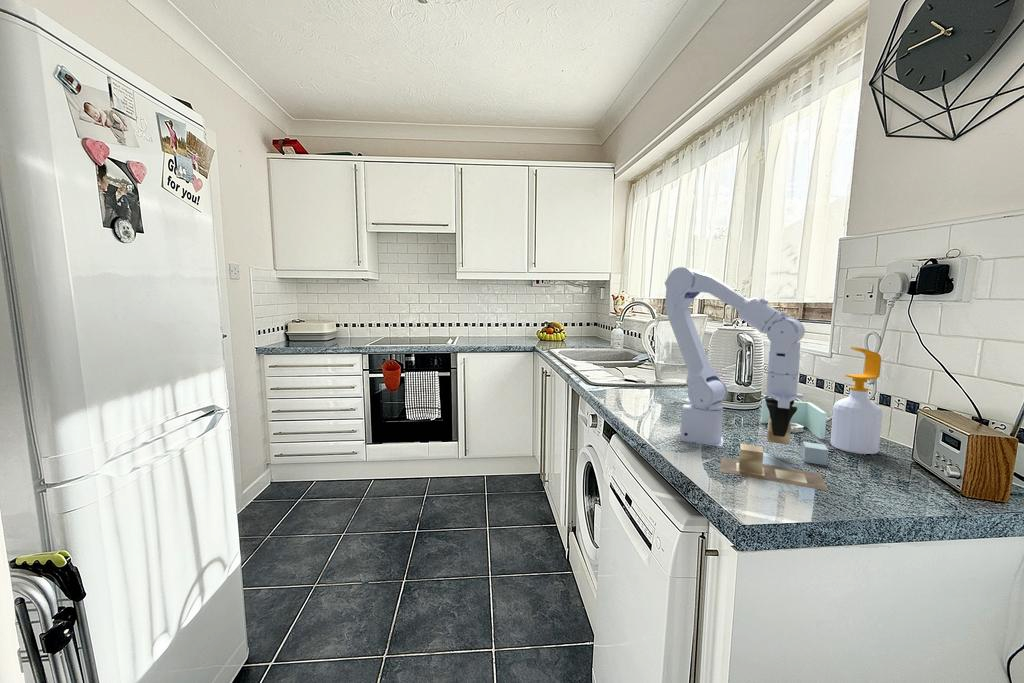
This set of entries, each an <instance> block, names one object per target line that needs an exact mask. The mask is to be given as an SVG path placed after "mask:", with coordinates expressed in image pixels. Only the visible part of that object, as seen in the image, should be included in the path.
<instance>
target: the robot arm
mask: <svg viewBox="0 0 1024 683" xmlns="http://www.w3.org/2000/svg"><path fill="white" fill-rule="evenodd" d="M664 285H665V288H666V291H665V292H666V293H665V300H664V309H665V312H666V315H667V318H668V321H669V324H670V326H671V329H672V331H673V334H674V337H675V340H676V342H677V344H678V348H679V350H680V353H681V355H682V359H683V361H684V363H685V367H686V369H687V372H688V373H687V377H686V382H685V383H686V384H687V397H688V400H689V402H690V404H683V405H682V410H681V420H680V426H679V427H680V430H679V431H680V439H679V440H680V441H682V442H691V443H696V444H702V445H709V446H717V447H723V445H724V444H723V443H724V437H723V436H722V432H723V418H724V416H723V415H724V414H723V413H724V404H723V401H724V400H725V399H726V398H727V396H728V386H727V385H726V383H725V382H724V381H722V379H721V378H720V376H719V374H718V372H717V371H716V370H715V369H714V368H713V367H712V366H711V365H710V362H709V359H708V356H707V354H706V351H705V348H704V346H703V343H702V341H701V338H700V335H699V333H698V330H697V328H696V325H695V322H694V320H693V317H692V314H691V313H690V309H689V308H690V306H691V304H692V302H693V301H694V299H696V297H698V296H699V295H700V294H701V293H707V294H709V295H711V296H713V297H715V298H716V299H718V300H720V301H722V302H723V303H725V304H726V305H728V306H730V307H731V308H733V309H735V310H737V312H738V317H739V318H740V319H741V320H742V321H744V322H745V323H747V324H748V325H750V326H751V327H753V329H755V330H758V331H759V332H760V333H762V334H763V335H765V334H766V338H767V339H768V340H769V341H770V344H769V346H770V347H769V352H768V364H767V365H768V366H767V375H766V376H767V377H766V388H765V391H764V395H766V397H764V399H765V401H766V405H767V407H768V409H769V413H770V418H771V423H772V431H773V435H774V436H781V437H784V436H785V434H786V432H787V429H788V425H789V422H790V420H791V418H792V416H793V415H794V414H795V412H796V411H797V407H793V406H792V405H793V404H794V401H795V400H796V399H803V398H804V394H803V393H798V382H799V371H800V359H801V353H800V349H801V340H802V339H803V338H804V336H805V332H806V331H805V330H806V329H805V327H804V325H803V324H802V322H801V321H799V320H798V318H796V317H787V316H788V313H787V312H786V311H779V310H778V309H776V308H775V307H773V306H771V305H769V304H768V302H769V300H767V299H765V298H758V297H752V298H747V297H745V296H744V295H743V294H741V293H740V292H738V291H737V290H735V289H733V288H732V287H731V286H729V285H728V284H726V283H725V282H723V281H722V280H720V279H718V278H716V276H713V275H712V274H709V273H707V272H704V271H703V270H702V269H699V268H698V269H697V268H687V267H683V266H678V267H676V268H674V269H673V270H671V271H670V273H669V274H668V277H667V278H666V279H665V282H664Z"/></svg>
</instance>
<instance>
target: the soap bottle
mask: <svg viewBox="0 0 1024 683" xmlns="http://www.w3.org/2000/svg"><path fill="white" fill-rule="evenodd" d="M850 349H851V350H853V351H856V352H860V353H862V354H864V356H865V357H864V358H865V359H864V360H865V361H864V369H863V373H861V374H855V373H854V374H845V377H848V378H851V379H852V382H854V386H850V388H849V395H848V396H847V397H844V398H841V399H839V400H836V401H835V403H834V405H833V406H832V421H831V431H830V432H831V433H830V445H831V446H832V447H834V448H835V449H838V450H840V451H843V452H847V453H850V454H851V453H852V454H858V455H863V454H864V455H865V456H866V454H871V455H877V454H878V453H879V451H880V443H881V433H882V423H883V422H882V420H883V410H882V408H881V407H880V406H879V405H877V404H876V403H875V402H874V401H872V400H870V399H869V397H868V396H869V388H868V387H865V383H868V380H877V379H879V378H880V375H881V366H882V356H881V355H880V353H878V352H875V351H873V350H869V349H866V348H862V347H856V346H855V347H854V346H850Z"/></svg>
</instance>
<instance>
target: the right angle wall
mask: <svg viewBox="0 0 1024 683" xmlns="http://www.w3.org/2000/svg"><path fill="white" fill-rule="evenodd" d="M792 406H793V407H797V411H796V412H795V414H794V415H793V416H792V418H791V420H790V423H791V432H790V434H791V433H793V434H797V433H803V431H805V430H804V427H805V428H806V427H807V428H808V429H809V430H808V429H807V428H806V429H807V430H808V431H809V432H811V433H812V434H813V435H815V437H817V438H818V439H820V440H825V437H826V424H827V415H828V414H827V412H825V411H824V410H823V409H821V408H820V407H818V406H817V405H816V404H814V403H812V402H810V401H809V402H808V401H806V402H805V401H797V400H794V404H793V405H792ZM760 414H761V415H760V416H761V417H760V423H761V424H767V423H768V418H770V413H769V409H768V407H767V405H766V401H765V398H762V400H761V413H760Z"/></svg>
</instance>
